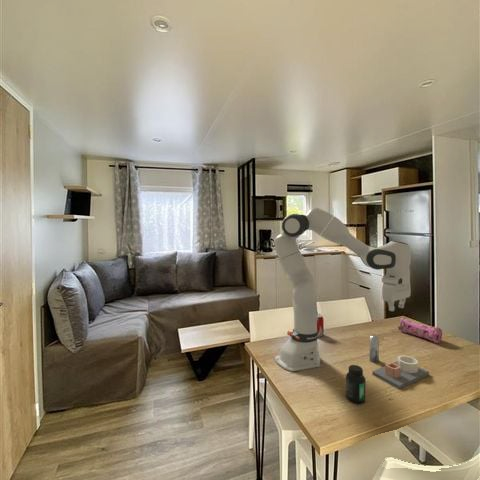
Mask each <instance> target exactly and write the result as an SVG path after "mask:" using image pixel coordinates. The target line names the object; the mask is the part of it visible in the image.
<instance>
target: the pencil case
mask: <svg viewBox="0 0 480 480" xmlns="http://www.w3.org/2000/svg"><path fill="white" fill-rule="evenodd" d="M397 328H398V330H399V331H400V332H402V333H406V334H409V335H412V336H417V337H419V338H424V339H426V340H428V341H431V342H434V343H435V344H439V343H441V341H442V338H443V330H442V329H441V328H440V327H439V326H437V327H436V326H430V325H427V324H425V323H420V322H417V321H416V322H414V321H411V320H410V319H408V318H406V317H405V316H404V317H401V318H400V321H399V325H398V326H397Z"/></svg>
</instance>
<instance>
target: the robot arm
mask: <svg viewBox="0 0 480 480" xmlns="http://www.w3.org/2000/svg"><path fill="white" fill-rule="evenodd" d="M281 229H282V232H281V233H280V234H278V235H277V236H276V237H275V238H274V240H273V244H274V248H275V252H276V255H277V258H278V260H279V263H280V265H281V267H282V270H283V272H284V275H286V276H287V278H288V280H289V281H290V283H291V285H292V287H293V289H292V309H293V329H292V331H290V330H288V331H287V333H286V334H287V335H288V336H290V338H289V339H288V340H287V341H286V342H285V343H284V344H283V345H282V346H281V347H280V350H279V354H278V355H277V356H274V361H275V362H276V363H277V364H278V366H279V367H281V368H282V369H284V370H286V371H289V372H296V371H297V372H299V371H303V370H308V369H314V368H318V367H321V363H320V362H321V356H320V351H319V346H318V345H319V344H318V339H319V337H318V331H317V314H318V307H317V300H318V299H317V295H318V287H317V286H318V285H317V284H316V282H315V280H314V278H313V276H312V273H311V271H310V269H309V268H308V265H307V264H306V262H305V259H304V257H303V255H302V252H301V250H300V248H299V246H298V243H297V239H298V238H299V237H300V236H302V235H303V234H304V233H305V232H306V231H313V232H314V233H315V234H317V235H319V237H322V238H323V239H325V240H327V241H329V242H331V243H334V244H337V245H341V246H344V247H345V248H346V249H348V250H349V251H351V252H352V253H354V254H355V255H357V256H358V257H359V258H360V260H361V261H362V263H363V264H364V266H366V267H368V268H371V269H372V270H375V271H376V270H378V271H379V270H386V273H385V275H383V276H382V278H381V283H382V286H381V287H382V288H381V295H382V296H381V297H382V301H384V302H387V304H388V305H387V306H388V311H390V312H394V311H396V310H395V309H396V306H395V305H394V304H395V302H396V301H399V302H398V306H397V307H398V308H400V309H404V308H405V303H406V300H407V299H406V298H410V297H411V292H412V291H411V281H410V280H411V269H410V266H411V264H412V263H411V262H412V261H411V260H412V259H411V258H412V256H411V255H412V254H411V247H410V245H409V244H408V243H406V242H402V241H397V240H391V241H390V240H389V242H388V243H385V244H383V245H381V246H377V247H376V246H372V245H371V246H370V245H367V244H366V243H364V242H362V240H360V239H358V238H356V237H355V236H354V235H353V234H352V233H350V231H349V229H348V227H347V225H346V224H345V223H344V222H343V221H342V220H340V219H339V218H338V217H336V216H334V215H333V214H331V213H330V212H328V211H326V210H324V209H322V208H318V207H312V208H310V209H309V210H307V212H306V213H305V214H298V213H292V214H289V215H286V216H285V217H284V219H283V220H282V222H281Z"/></svg>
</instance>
